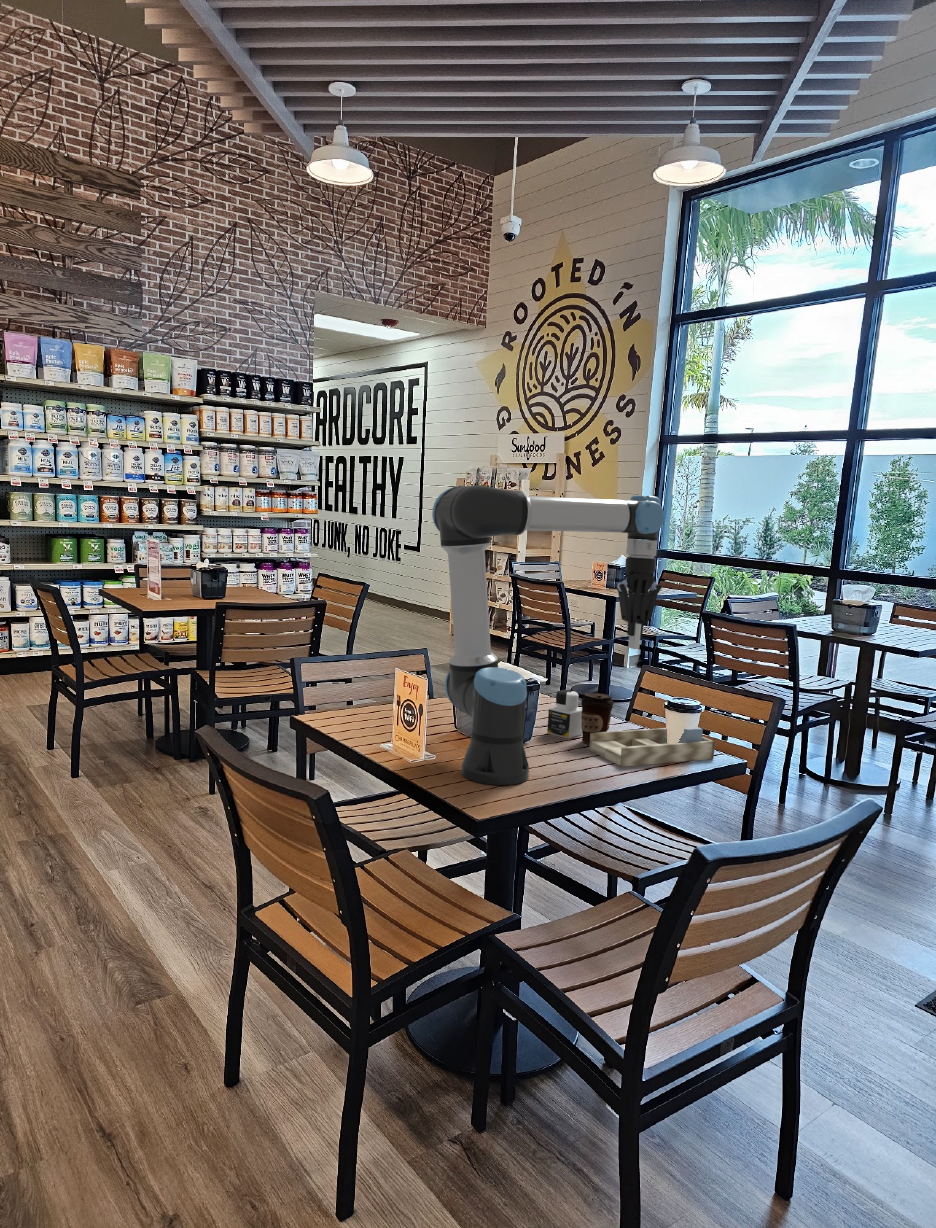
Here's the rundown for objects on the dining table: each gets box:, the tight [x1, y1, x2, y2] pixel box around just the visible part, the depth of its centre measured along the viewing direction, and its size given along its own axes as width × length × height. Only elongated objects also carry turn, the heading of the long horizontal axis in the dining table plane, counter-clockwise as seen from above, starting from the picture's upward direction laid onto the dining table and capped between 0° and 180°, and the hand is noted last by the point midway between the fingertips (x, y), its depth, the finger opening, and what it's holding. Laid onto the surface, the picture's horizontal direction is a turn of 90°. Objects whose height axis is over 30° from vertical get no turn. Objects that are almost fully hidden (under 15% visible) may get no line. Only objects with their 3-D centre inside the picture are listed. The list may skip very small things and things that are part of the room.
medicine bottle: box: [546, 689, 583, 739], centre depth 218 cm, size 7×7×12 cm
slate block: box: [678, 726, 704, 743], centre depth 203 cm, size 5×5×5 cm
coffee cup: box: [581, 692, 614, 745], centre depth 210 cm, size 9×8×13 cm
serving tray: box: [588, 727, 716, 768], centre depth 202 cm, size 28×14×4 cm, turn 114°
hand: (633, 648), depth 205 cm, fingers closed
